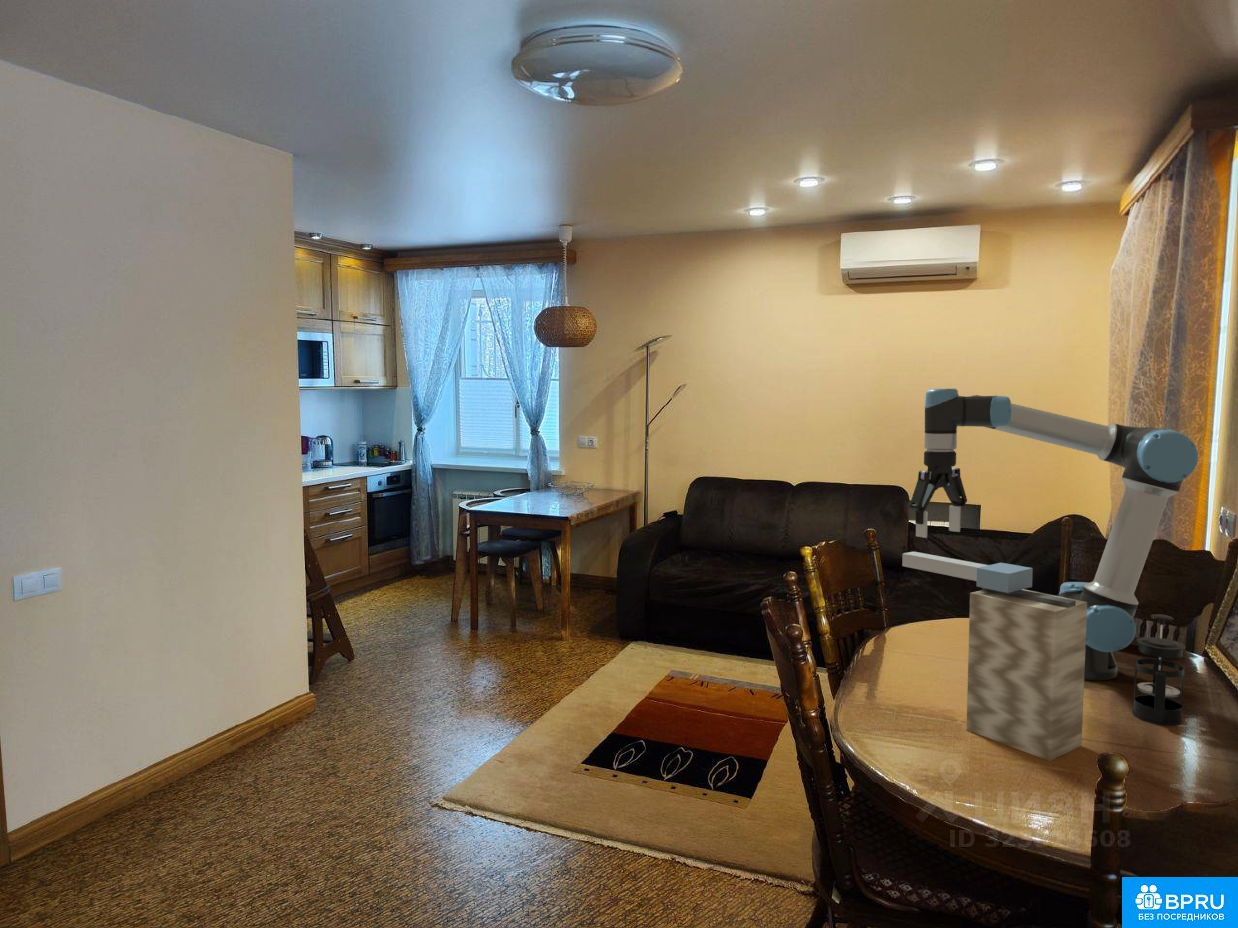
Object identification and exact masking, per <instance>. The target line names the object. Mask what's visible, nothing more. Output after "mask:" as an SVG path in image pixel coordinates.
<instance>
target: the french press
mask: <svg viewBox="0 0 1238 928" xmlns="http://www.w3.org/2000/svg"><path fill="white" fill-rule="evenodd" d="M1150 618H1151V619H1155V620H1158V624H1159V625H1160V627H1159V630H1160V631H1159V637H1157V636H1155V637H1154V636H1142V637H1138V638H1136V643H1137V644H1138V651H1139V652H1140V653H1141V654H1144V655H1147V656H1151V657H1141V658H1137V659H1135V663H1134V664H1135V667H1134V688H1133V689H1134V690H1133V709H1132V710H1131V713H1132V716H1133V717H1136V718H1137V719H1138V720H1141V721H1143V722H1147V723H1151V724H1155V725H1159V726H1171V727H1172V726H1179V725H1182V724H1183V723H1184V719H1183V707H1184V706H1183V705H1184V704H1183V703H1184V687H1185V686H1184V685H1185V684H1184V683H1185V667H1184V665H1182V664H1180V663H1178V662H1175V661H1173V660H1172V661H1171V660H1168V659H1180V658H1182V657H1183V653H1184V651H1183V650H1185V649H1186V645H1185V644H1184V643H1182V642H1180V641H1176V640H1174V639H1171V638H1170V639H1169V638H1165V637H1163V626H1165V621H1173V620H1174V618H1173V617H1172V616H1169V615H1167V614H1166V615H1165V614H1160V613H1158V614H1157V613H1156V614H1151V615H1150ZM1154 657H1155V658H1154ZM1145 665H1153V668H1151V667H1146V666H1145ZM1164 667H1168V668H1173V669H1175V670H1176V671H1175V670H1174V671H1173V670H1172V671H1171V670H1164ZM1138 671H1140V672H1142V673H1144V674H1148V675H1151V676H1152V682H1145V681H1144V682H1139V683H1138V682H1137V676H1138V675H1137V673H1138ZM1167 678H1181V690H1180V689H1179V688H1176V687H1174V686H1172V685H1168V684H1167ZM1137 691H1138V692H1139V693H1142V694H1141V695H1137ZM1179 698H1180V702H1178V701H1176V700H1174V699H1179Z"/></svg>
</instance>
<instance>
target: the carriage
mask: <svg viewBox="0 0 1238 928" xmlns="http://www.w3.org/2000/svg"><path fill="white" fill-rule="evenodd" d="M901 557H902V560H901V561H902V563H901V564H902V565H901V566H902V567H905V568H910V569H915V570H921V571H924V572H930V573H935V574H939V575H940V574H941V575H945V576H950V577H954V578H959V579H964V580H968V581H974V582H976V587H978V588H981V589H982V588H986V589H991V590H996V591H1001V592H1005V593H1010V592H1014V591H1018V590H1022V589H1024V590H1026V589H1029V588H1033V571H1034V570H1033V567H1028V566H1022V565H1018V564H1011V563H1004V562H998V563H993V564H984V563H977V562H973V561H968V560H962V559H958V558H957V559H956V558H951V557H946V556H939V555H933V554H929V553H924V552H918V551H909V552H904V553H902V556H901Z"/></svg>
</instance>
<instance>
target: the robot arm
mask: <svg viewBox="0 0 1238 928" xmlns="http://www.w3.org/2000/svg"><path fill="white" fill-rule="evenodd" d="M924 403H925V405H924V445H923V447H924V449H926V450H925V451H924V452H923V464H924V466H925V467H927V470H919V471H918V475H917V480H916V481H917V482H916V484H915V488H914V491H913V494H912V497H911V500H910V503H909V509H911V511H914V512H915V537H919V538H925V539H928V517H929V516H928V514H929V513H928V511H926V509H927V508H928V506H929V504H930V501H931V500H932V498H933V496H934V494H935V492H936V491H937V490H938V489H941V488H943V490H944V492H945V494H946V496H947V497H948V499H949V502H950V503H951V505H949V510H948V512H949V513H948V514H949V515H948V517H949V518H948V531H949V532H957V533H960V532H961V517H962V516H961V515H962V507H965V506H966V504H967V502H968V499H967V495H966V491H965V488H964V484H963V481H962V478H961V469H960V468H959V467H955V466H956V465H957V452H956V449H957V443H958V440H957V438H958V430H957V429H958V427H980V428H981V427H982V428H987V429H992V430H996V431H1000V432H1003V433H1009V434H1012V435H1016V436H1020V437H1024V438H1029V439H1032V440H1036V441H1040V442H1044V443H1048V444H1051V445H1052V444H1053V445H1056V446H1060V447H1063V448H1069V449H1073V450H1076V451H1080V452H1084V453H1088V454H1092V455H1096V456H1097V457H1098V459H1099V460H1100V461H1104V462H1106V463H1107V462H1108V463H1111V464H1114V465H1116V466H1119V467H1122V468H1124V471H1123V473H1122V475H1121V480H1122V481H1123V483H1124V485H1125V490H1124V492H1123V496H1122V498H1121V502H1120V504H1119V508H1118V509H1117V512H1116V515H1115V518H1114V520H1113V525H1112V527H1111V530H1110V531H1109V536H1108V537H1107V538H1108V539H1107V540H1106V541H1107V542H1106V544H1105V548H1104V549H1103V553H1102V555H1101V559H1100V560H1099V561H1100V562H1099V564H1098V567H1097V570H1096V573H1095V575H1094V579H1093V580H1092V581H1091V582H1085V581H1084V582H1083V581H1066V582H1063V583H1062V584H1061V585H1060V589H1059V593H1058V596H1059V597H1064V598H1069V599H1074V600H1079V601H1084V602H1087V621H1086V646H1085V672H1084V680H1090V681H1106V680H1107V681H1108V680H1112V679H1115V678H1117V676H1118V665H1117V664H1118V663H1117V661H1116V659H1115V656H1114V652H1117V651H1120V650H1123V649H1125V648H1127V647H1128V646H1129V645H1130V644H1131V643H1132V642H1133V640H1134V639H1135V636H1136V632H1137V627H1136V622H1135V618H1134V617H1135V614H1136V611H1137V609H1138V606H1139V601H1138V599H1137V597H1136V595H1135V592H1136V589H1137V586H1138V583H1139V580H1140V578H1141V574H1142V572H1143V570H1144V566H1145V564H1146V560H1147V559H1148V556H1149V552H1150V550H1151V547H1152V544H1153V541H1154V539H1155V536H1156V533H1157V530H1158V528H1159V524H1160V522H1161V519H1162V516H1163V513H1164V510H1165V509H1166V505H1167V503H1168V500H1169V498H1171V497H1173V496H1175V495H1177V494H1178V493H1179V492H1180V489H1181V488H1182V484H1183V482H1184V480H1185V479H1187V478H1188V477H1189V476H1190V475H1191V474H1193V472H1194V471H1195V470H1196V467H1197V465H1198V462H1199V452H1198V449H1197V447H1196V444H1195V443H1194V442H1193V441H1192V439H1191V438H1190V437H1188V436H1187V435H1185V434H1183V433H1181V432H1179V431H1176V430H1173V429H1168V428H1156V427H1145V426H1143V427H1140V426H1129V425H1123V424H1117V423H1113V422H1112V423H1110V424H1108V425H1104V424H1100V423H1096V422H1091V421H1087V420H1083V419H1080V418H1075V417H1070V416H1067V415H1063V414H1059V413H1058V414H1057V413H1053V412H1049V411H1045V410H1042V409H1036V408H1032V407H1029V406H1024V405H1020V404H1015V403H1012V401H1011V399H1010V397H1009V396H1007V395H979V394H976V395H970V396H963V395H959V390H958V389H957V388H929V389H928V390H927V391H926V393H925V402H924Z"/></svg>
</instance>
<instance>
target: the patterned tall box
mask: <svg viewBox="0 0 1238 928" xmlns="http://www.w3.org/2000/svg"><path fill="white" fill-rule="evenodd" d="M968 619H969V621H968V624H969V625H968V657H967V658H968V660H967V662H968V663H967V691H966V693H967V698H966V699H967V700H966V731H969V732H971V733H974V734H977V735H980V736H982V737H985V738H988V739H990V740H993V741H995V742H998V743H1001V744H1003V745H1007V746H1009V747H1012V748H1014V749H1017V750H1019V751H1022V752H1024V753H1027V754H1031V755H1033V756H1036V757H1038V758H1041V759H1043V760H1047V761H1049V762H1051V761H1053V760H1055V759H1057V758H1059V757H1062V756H1064V755H1066V754H1068V753H1070V752H1072V751H1074V750H1075V749H1078V748H1080V747H1081V746H1083V745H1082V744H1083V722H1084V721H1083V719H1084V717H1083V715H1084V693H1085V679H1084V672H1085V646H1086V621H1087V602H1084V601H1079V600H1074V599H1069V598H1064V597H1060V596H1059V595H1054V594H1049V593H1044V592H1039V591H1035V590H1034V591H1033V590H1029V589H1022V590H1018V591H1014V592H1010V593H1005V592H1001V591H996V590H991V589H986V588H982V587H981V590H977V591H973V592H972V591H971V592H970V593H969V617H968Z"/></svg>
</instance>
